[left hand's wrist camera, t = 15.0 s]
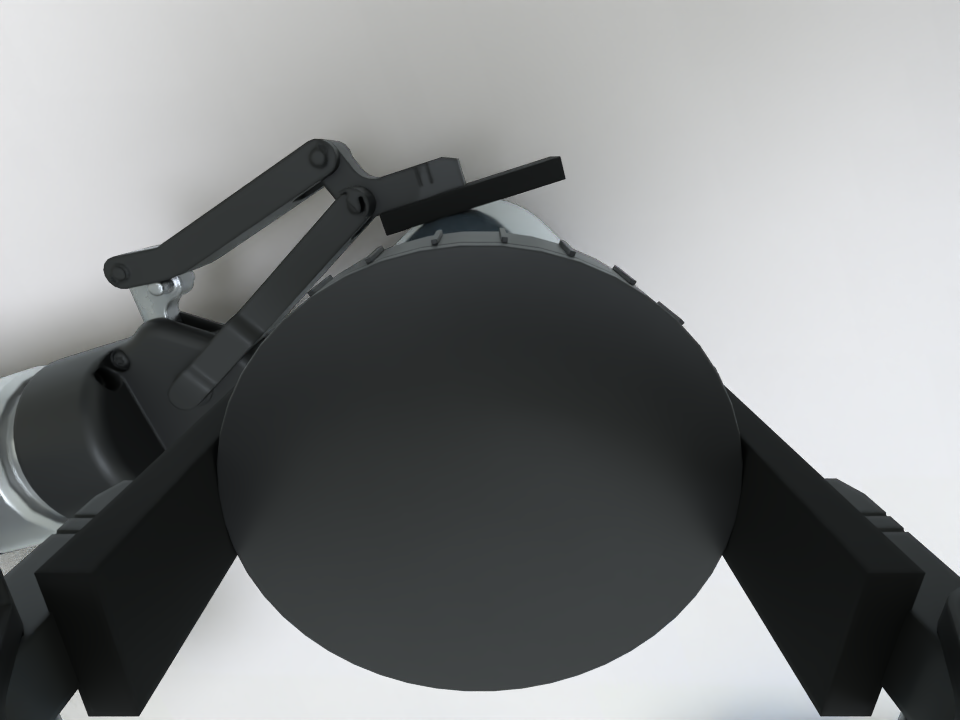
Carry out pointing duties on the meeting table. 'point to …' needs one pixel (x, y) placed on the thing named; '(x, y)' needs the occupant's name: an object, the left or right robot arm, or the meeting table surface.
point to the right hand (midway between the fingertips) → (588, 296)
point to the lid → (479, 463)
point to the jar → (486, 223)
